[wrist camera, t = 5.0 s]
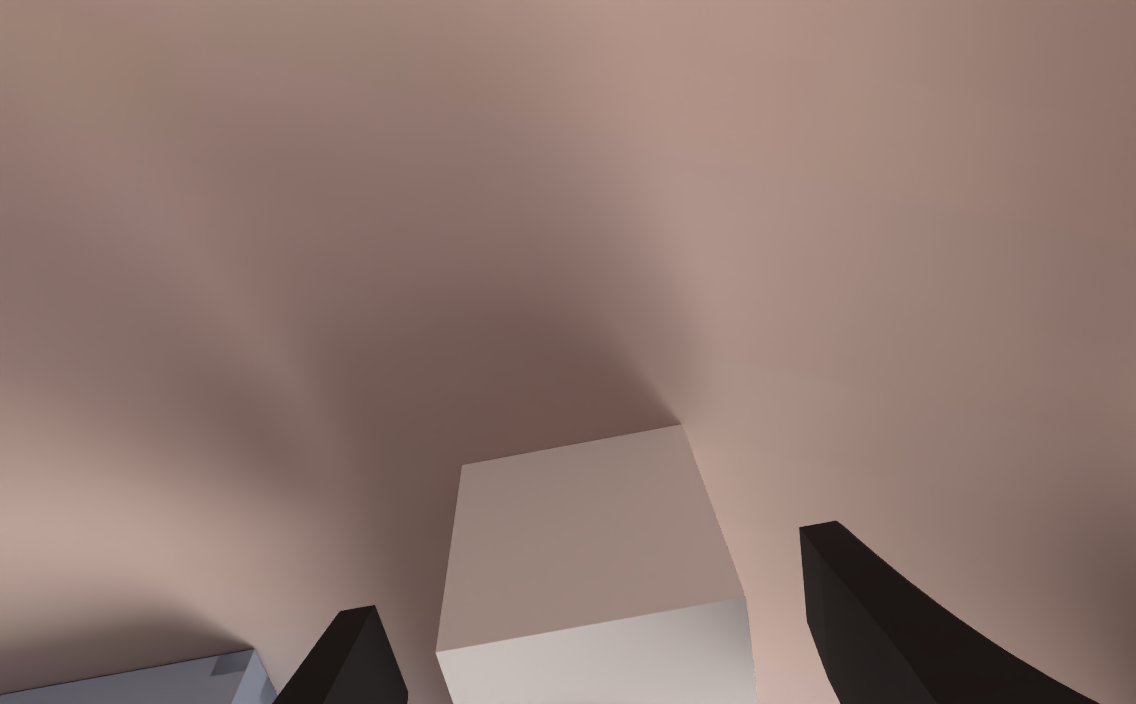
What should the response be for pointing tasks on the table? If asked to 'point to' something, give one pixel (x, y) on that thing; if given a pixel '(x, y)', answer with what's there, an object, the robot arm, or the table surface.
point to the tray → (166, 685)
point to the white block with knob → (593, 581)
